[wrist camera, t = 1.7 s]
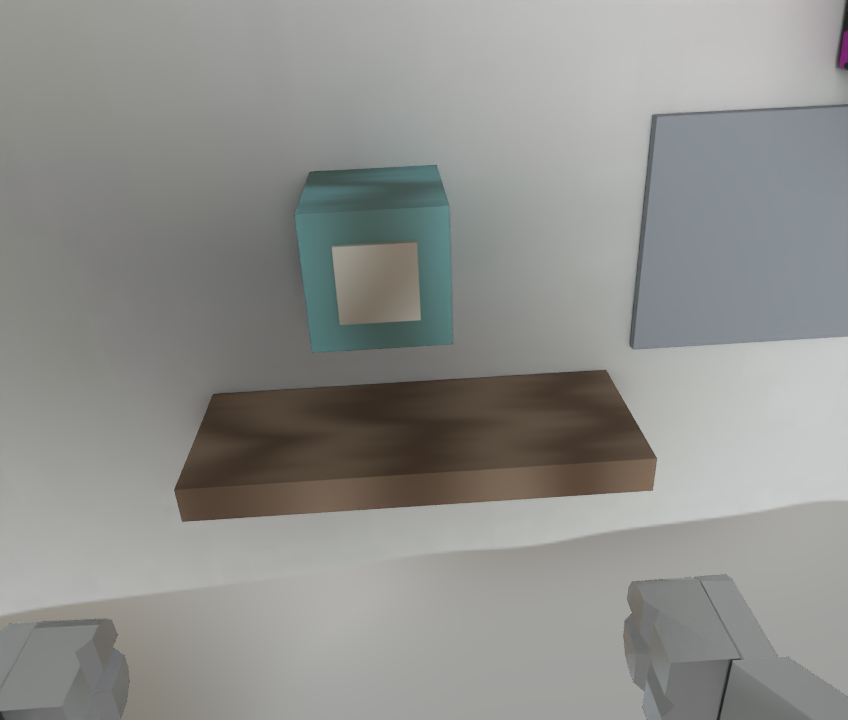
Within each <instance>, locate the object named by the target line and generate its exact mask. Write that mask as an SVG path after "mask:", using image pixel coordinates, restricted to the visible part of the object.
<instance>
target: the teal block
mask: <svg viewBox="0 0 848 720" xmlns="http://www.w3.org/2000/svg"><path fill="white" fill-rule="evenodd" d="M294 216H295V224H296V232H297V239H298V247H299V255H300V263H301V271H302V279H303V287H304V294H305V302H306V310H307V318H308V326H309V334H310V342H311V349H312V353H318V352H334V351H350V350H367V349H383V348H399V347H415V346H431V345H447V344H453V333H452V295H451V257H450V219H449V204H448V201H447V197H446V194H445V191H444V188H443V184H442V181H441V178H440V175H439V172H438V168H437V165H427V166H408V167H390V168H371V169H353V170H334V171H316V172H310V173H309V176H308V179H307V182H306V184H305V187H304V190H303V192H302V195H301V198H300V201H299V203H298V206H297V209H296V211H295V214H294Z"/></svg>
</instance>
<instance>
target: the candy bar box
mask: <svg viewBox="0 0 848 720" xmlns="http://www.w3.org/2000/svg"><path fill="white" fill-rule="evenodd" d="M839 68H841V69H844V70H848V10H847V16H846V23H845V30H844V36H843V43H842V49H841V56H840V63H839Z"/></svg>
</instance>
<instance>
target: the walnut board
mask: <svg viewBox="0 0 848 720" xmlns="http://www.w3.org/2000/svg"><path fill="white" fill-rule="evenodd" d="M656 462H657V458H656V456H655V454H654V452H653V451H652V449H651V447H650V445H649V444H648V442H647V440H646V439H645V437H644V435H643V433H642V432H641V430H640V428H639V426H638V425H637V423H636V421H635V420H634V418H633V416H632V414H631V413H630V411H629V409H628V407H627V406H626V404H625V402H624V401H623V399H622V397H621V395H620V394H619V392H618V390H617V388H616V387H615V385H614V383H613V381H612V380H611V378H610V376H609V375H608V373H607V371H606V370H600V371H583V372H567V373H551V374H535V375H519V376H502V377H486V378H470V379H454V380H438V381H421V382H405V383H389V384H373V385H357V386H340V387H324V388H308V389H292V390H276V391H259V392H243V393H227V394H213V396H212V398H211V401H210V403H209V406H208V408H207V411H206V413H205V416H204V418H203V421H202V423H201V425H200V428H199V430H198V433H197V435H196V438H195V440H194V443H193V445H192V448H191V450H190V452H189V455H188V457H187V460H186V462H185V465H184V467H183V470H182V472H181V475H180V477H179V479H178V482H177V484H176V487H175V489H174V491H175V495H176V499H177V503H178V507H179V511H180V515H181V519H182V522H185V521H200V520H215V519H230V518H245V517H260V516H275V515H290V514H305V513H321V512H336V511H351V510H366V509H381V508H396V507H411V506H426V505H441V504H456V503H471V502H486V501H501V500H517V499H532V498H547V497H562V496H577V495H592V494H607V493H622V492H637V491H652V490H653V485H654V477H655V470H656Z"/></svg>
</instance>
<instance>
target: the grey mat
mask: <svg viewBox="0 0 848 720" xmlns="http://www.w3.org/2000/svg"><path fill="white" fill-rule="evenodd" d="M846 336H848V105H829V106H810V107H791V108H772V109H753V110H733V111H714V112H695V113H676V114H657V115H653V119H652V129H651V139H650V149H649V159H648V169H647V179H646V189H645V199H644V209H643V219H642V229H641V239H640V249H639V259H638V268H637V278H636V288H635V298H634V308H633V318H632V328H631V338H630V345H631V347H632V348H633V349H649V348H666V347H682V346H698V345H715V344H731V343H748V342H764V341H780V340H797V339H813V338H829V337H846Z"/></svg>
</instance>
